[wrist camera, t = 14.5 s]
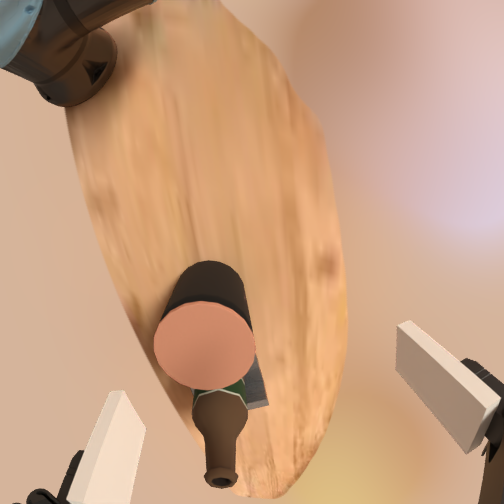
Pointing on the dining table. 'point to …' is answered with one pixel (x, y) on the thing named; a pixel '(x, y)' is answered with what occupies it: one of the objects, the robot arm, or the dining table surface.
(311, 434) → the dining table surface
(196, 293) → the coffee jar
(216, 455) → the beer bottle
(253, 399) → the bracket
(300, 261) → the dining table surface
